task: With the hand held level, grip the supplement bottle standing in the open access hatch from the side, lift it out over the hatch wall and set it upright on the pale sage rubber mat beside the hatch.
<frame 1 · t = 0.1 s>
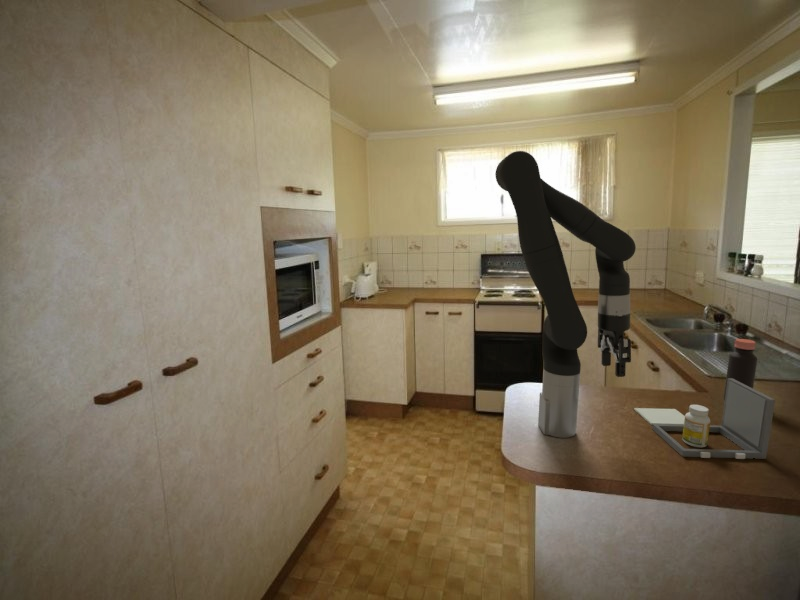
hand: (612, 370, 112), 17 cm above the counter, tool pointing down, fingers open, 8 cm apart
supplement bottle: (694, 443, 108), resting in access hatch
access hatch: (702, 442, 108), on the counter
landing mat: (663, 417, 123), on the counter
vinegar: (736, 402, 133), on the counter
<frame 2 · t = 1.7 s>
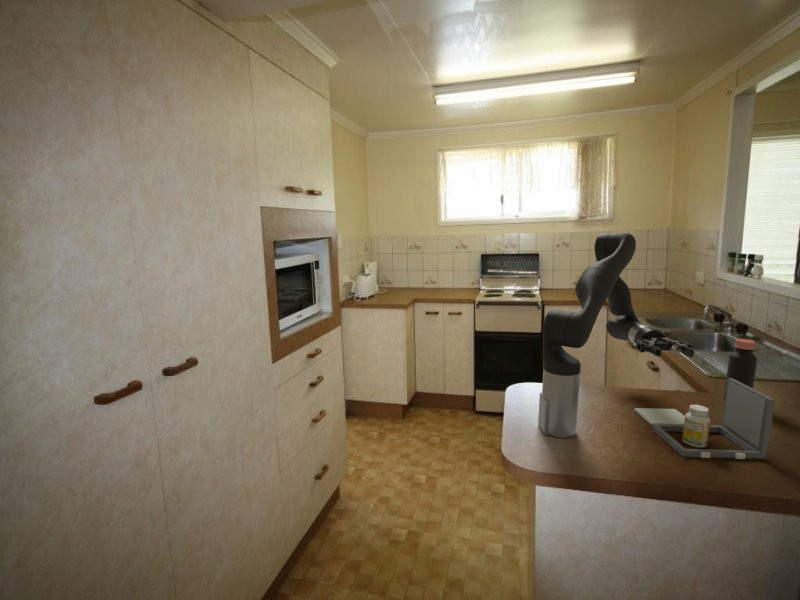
hand: (676, 353, 117), 20 cm above the counter, tool horizontal, fingers open, 8 cm apart
nothing on the counter moved.
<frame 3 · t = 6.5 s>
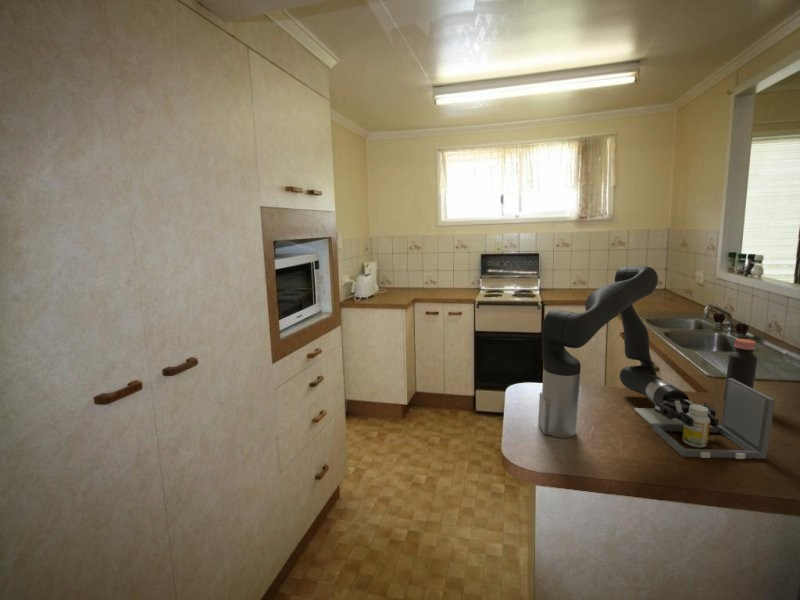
hand: (704, 423, 105), 7 cm above the counter, tool horizontal, fingers closed on supplement bottle, 5 cm apart
supplement bottle: (694, 443, 108), resting in access hatch, touching gripper
everything else where it was.
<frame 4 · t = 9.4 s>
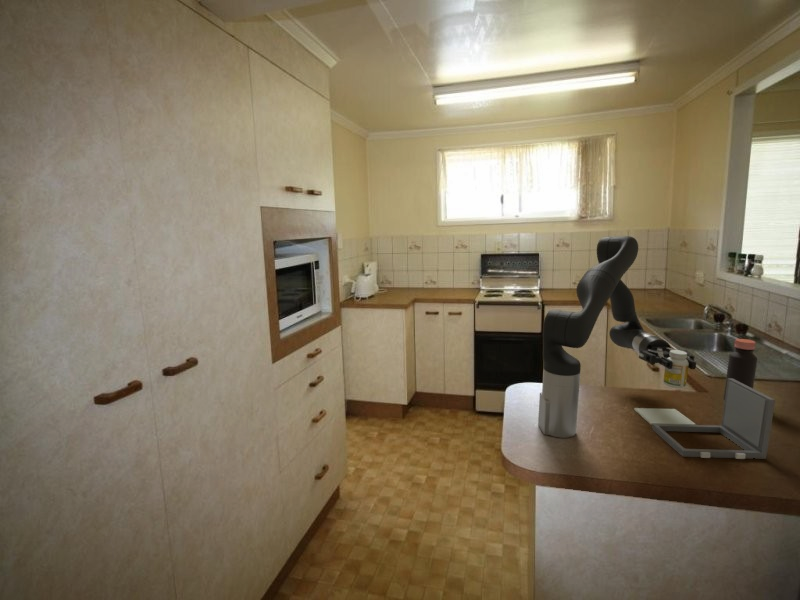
hand: (682, 365, 114), 18 cm above the counter, tool horizontal, fingers closed on supplement bottle, 5 cm apart
supplement bottle: (674, 385, 117), point 11 cm above the counter, touching gripper
everything else where it was.
when the fingers open (8 cm above the counter, at t = 12.1 s): supplement bottle stays where it is, resting on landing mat.
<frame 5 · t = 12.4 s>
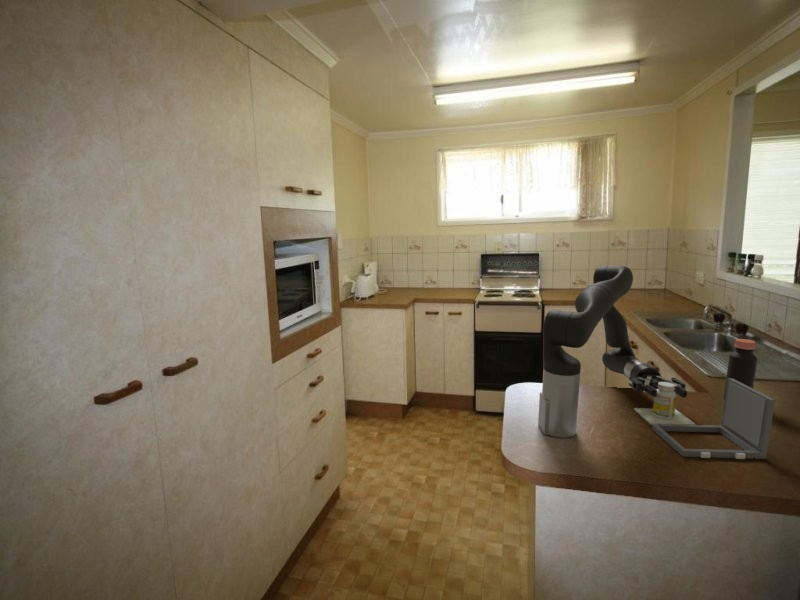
hand: (670, 394, 119), 8 cm above the counter, tool horizontal, fingers open, 7 cm apart
supplement bottle: (663, 416, 123), resting on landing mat
everything else where it was.
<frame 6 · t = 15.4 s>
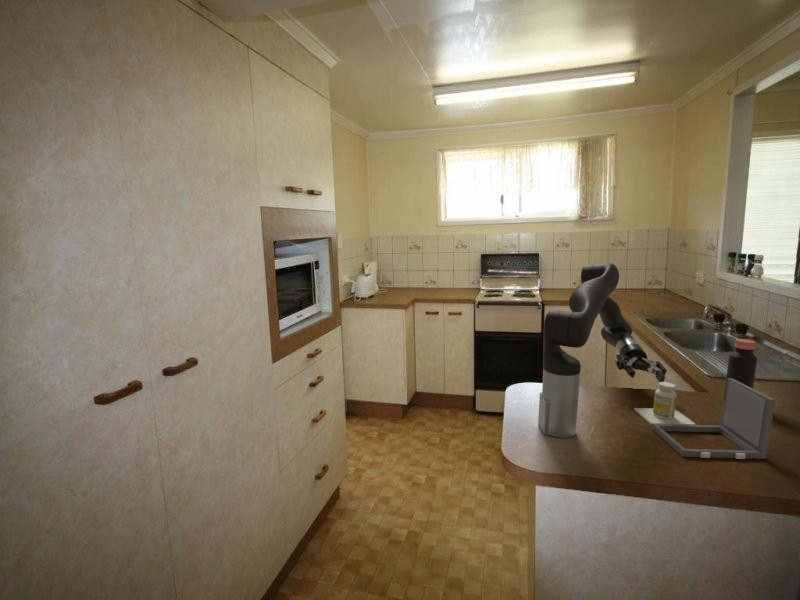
hand: (647, 377, 131), 9 cm above the counter, tool horizontal, fingers open, 8 cm apart
nothing on the counter moved.
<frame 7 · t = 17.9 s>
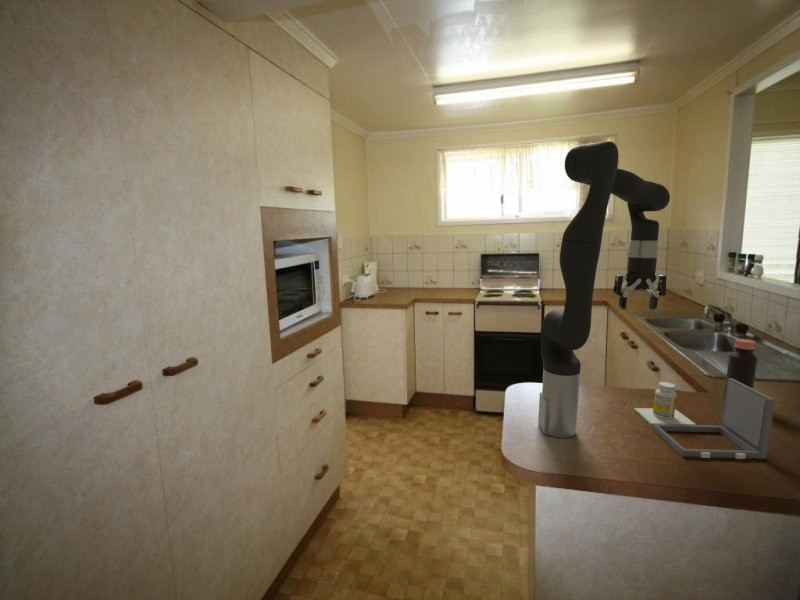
hand: (637, 309, 128), 30 cm above the counter, tool pointing down, fingers open, 8 cm apart
nothing on the counter moved.
at the end: supplement bottle inside the target area on the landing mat (0.1 cm from its centre), point 0.3 cm above the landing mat's base; supplement bottle tilted 0°; the gripper is holding nothing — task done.
